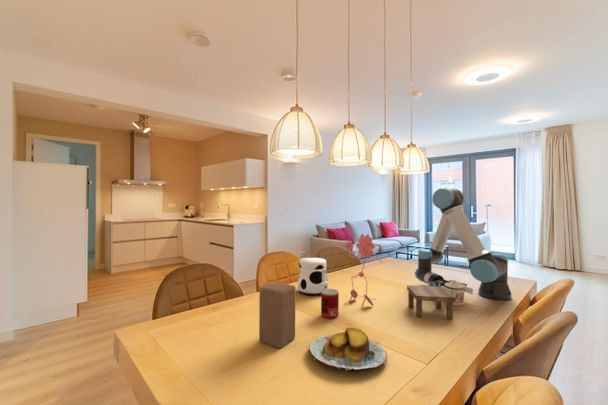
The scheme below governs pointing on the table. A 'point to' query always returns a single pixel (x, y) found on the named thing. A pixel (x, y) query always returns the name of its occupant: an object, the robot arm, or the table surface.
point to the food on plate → (348, 350)
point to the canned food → (329, 303)
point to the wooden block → (277, 314)
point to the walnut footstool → (430, 298)
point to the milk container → (312, 276)
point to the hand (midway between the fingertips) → (461, 292)
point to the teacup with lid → (456, 292)
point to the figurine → (365, 250)
